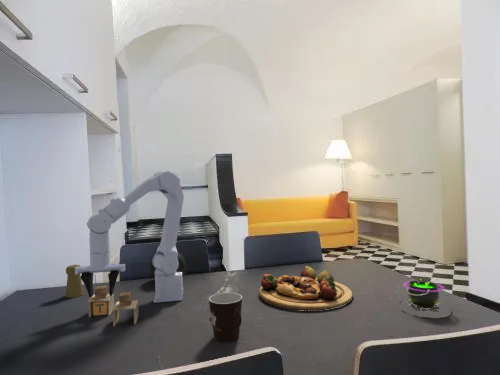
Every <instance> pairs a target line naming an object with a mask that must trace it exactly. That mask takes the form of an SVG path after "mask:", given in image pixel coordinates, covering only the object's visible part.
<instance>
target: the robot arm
mask: <svg viewBox="0 0 500 375" xmlns="http://www.w3.org/2000/svg"><path fill="white" fill-rule="evenodd" d="M152 191H153V192H154V191H159V192H160V193H162V194H163V196H164V197H165V198H166V199H167V203H166V210H165V214H164V215H165V216H164V221H163V227H162V233H161V239H160V244H159V245H158V247H157V249H156V253H154V256H153V258H152V259H153V260H152V259H151V261H152V263H153V266H154V267H155V268H156V271H155V279H154V282H155V283H154V285H155V288H154V289H155V296H154V297H153V298H154V299H153V303H166V302H176V301H177V302H178V301H179V302H180V301H182V300H183V298H184V297H183V295H184V287H183V286H184V285H183V284H184V283H183V282H184V281H183V278H182V272H176V270H177V269H178V266H179V262H178V258H177V256H178V253H179V252H178V249H177V247H176V246H177V240H178V234H179V228H180V224H181V223H180V221H181V215H182V210H183V204H184V198H185V196H184V192H183V189H182V186H181V179H180V178H179V177H178V175H177V174H176V173H175V172H173V171H172V170H171V171H170V170H167V171H158V172H156V173H154V174H153V175H151V176H148V177H147V178H146V179H145V180H143V181H141V183H140V184H139V185H137V186H136V187H135V188H134V189H133V190H131V191H130V192H129V193H128V194H127V195H125V196H124V197H117V198H112V199H111V200H109V202H110V203H108V204H107V205H105V206H104V207H103V208H99V209H98V210H97V212H98V213H94V214H92V215H90V216H89V219H88V221H87V223H86V225H87V228H88V229H89V238H88V239H89V241H88V242H89V264H90V265H84V266H81V267H76V268H75V274H80V276H81V281H82V282H83V283H82V284H83V285H84V286H85V288H86V290H87V295H88V297H89V298H91V297H92V296H93V295H94V274H95V273H96V274H97V273H107V277H108V285H109V287H108V288H109V290H108V291H109V292H108V293H109V295H110V296H111V295H113V293H114V291H115V286H116V283H117V280H118V278H119V274H120V273H121V272H122V273H123V272H125V271H126V264H125V263H121V264H120V263H111V256H110V255H111V253H110V252H111V251H110V249H111V248H110V236H109V231H110V229H111V226H112V224H115V223H116V222H117V221H119V220H120V219H121V218H122V217H124V216H125V215H126V214H127V213H128V212H130V209H131V205H133V204H134V203H135V202H137V201H138V200H139V199H141V198H143V197H144V196H146V194H148V193H149V192H152ZM114 294H115V293H114Z"/></svg>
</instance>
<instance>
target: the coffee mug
mask: <svg viewBox="0 0 500 375" xmlns="http://www.w3.org/2000/svg"><path fill="white" fill-rule="evenodd" d="M242 304H243V295H241V294H239V293H219V294H216V293H215V294H212V295H210V296H209V297H208V305H209V311H210V317H211V318H210V319H211V323H212V324H211V325H212V326H211V327H212V332H213V338H214V340H215V341H217V342H219V343H231V342H235V341H236V339H237V340H238V338H239V337H240V327H241V326H242V322H243V321H242V315H241V314H242Z"/></svg>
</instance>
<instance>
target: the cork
mask: <svg viewBox="0 0 500 375" xmlns="http://www.w3.org/2000/svg"><path fill="white" fill-rule="evenodd" d="M76 267H82V266H81V265H80V264H71V265H68V266H67V267H66V268H65V274H66V275H67V280H66V287H65V298H69V299H72V298H73V299H74V298H78V297H82V296H84V288H83V283H82V282H83V281H82V280H81V274H75V268H76Z"/></svg>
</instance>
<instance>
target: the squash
mask: <svg viewBox="0 0 500 375" xmlns="http://www.w3.org/2000/svg"><path fill="white" fill-rule="evenodd" d="M177 258H178V262H179V266H178V269H177V270H176V272H182V279H183V278H184V276H185V275H186V272H187V264H186V260H185V257H184V256H183V255H182V254H181V253H179V252H178V256H177ZM152 260H153V258H152V259H151V260H150V264H149V271H150V274H151V277H152V278H153V279H154V280H155V271H156V268H155V267H154V266H153V263H152Z"/></svg>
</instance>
